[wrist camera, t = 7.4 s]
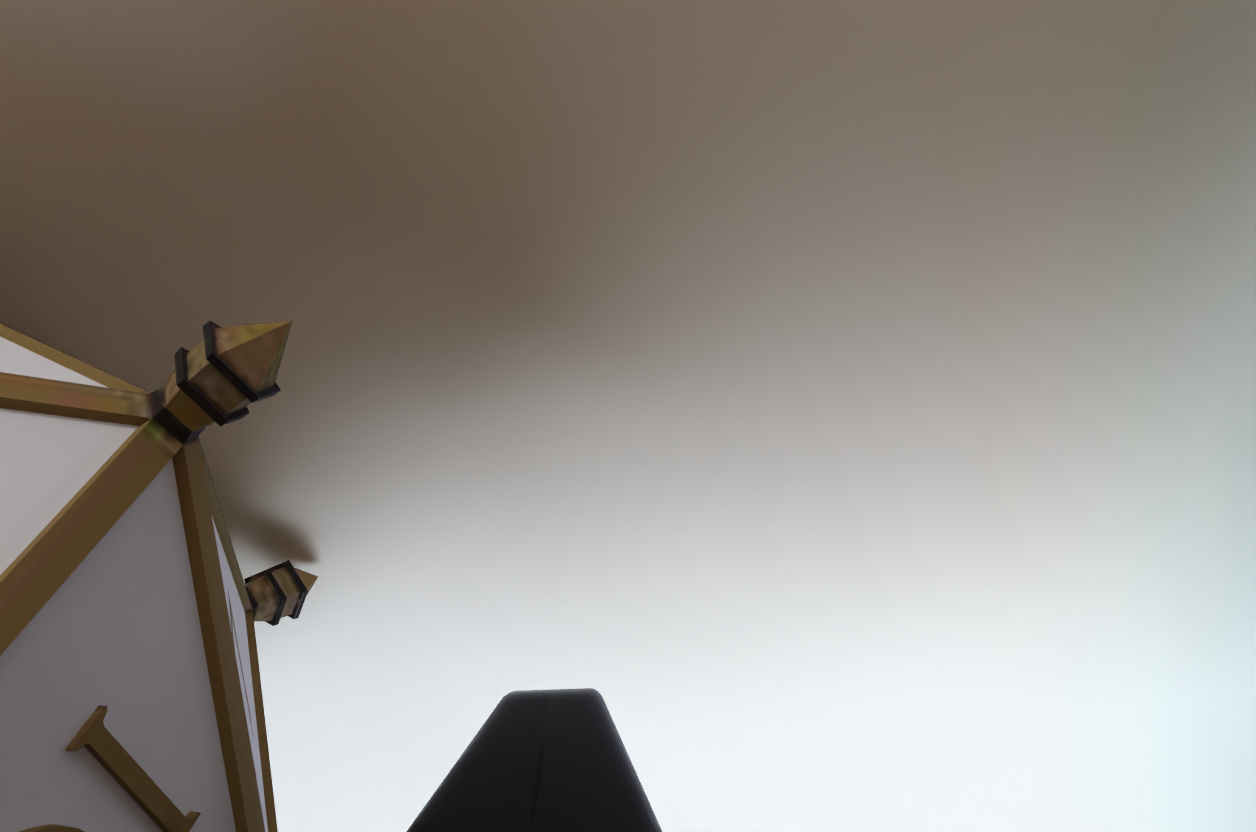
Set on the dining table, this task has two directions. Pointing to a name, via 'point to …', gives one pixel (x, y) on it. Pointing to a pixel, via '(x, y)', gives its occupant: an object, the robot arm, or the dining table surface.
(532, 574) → the dining table surface
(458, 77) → the dining table surface
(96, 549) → the game die
